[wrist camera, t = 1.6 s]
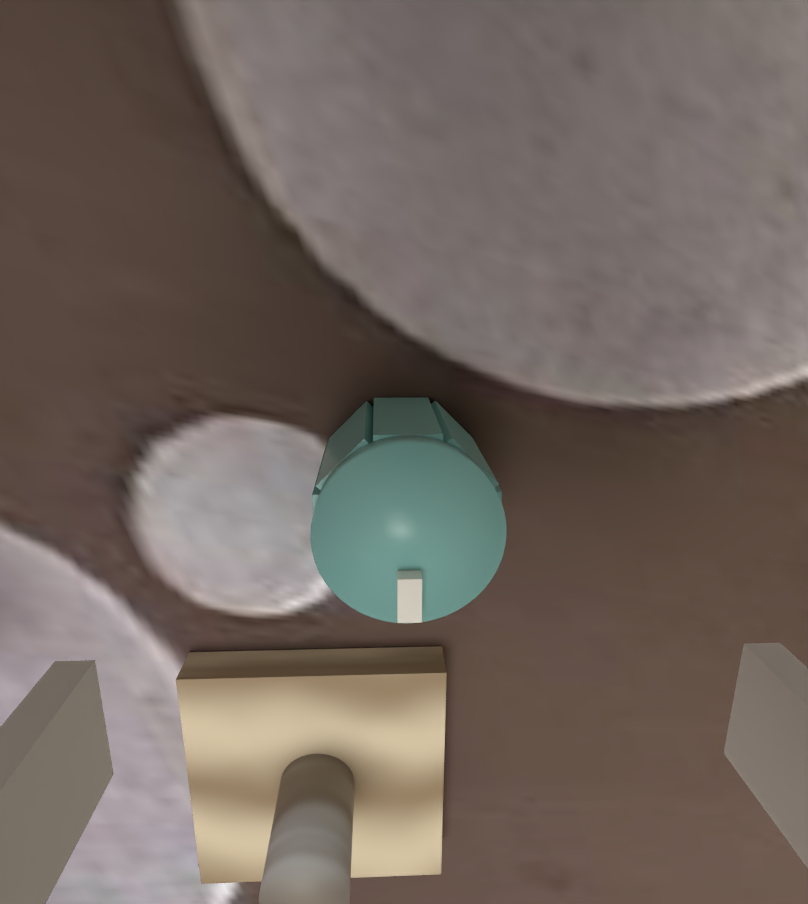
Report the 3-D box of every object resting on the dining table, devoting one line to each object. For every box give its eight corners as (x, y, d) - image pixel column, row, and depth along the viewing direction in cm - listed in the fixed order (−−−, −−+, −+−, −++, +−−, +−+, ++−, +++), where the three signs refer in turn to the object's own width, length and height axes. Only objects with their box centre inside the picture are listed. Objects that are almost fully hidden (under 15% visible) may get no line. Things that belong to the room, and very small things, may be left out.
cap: (324, 397, 25) (304, 449, 18) (476, 397, 26) (515, 447, 18) (329, 537, 27) (312, 635, 20) (471, 535, 27) (505, 631, 20)
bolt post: (189, 652, 29) (126, 780, 21) (441, 646, 29) (463, 769, 22) (211, 847, 32) (164, 1013, 25) (437, 838, 33) (454, 999, 25)
